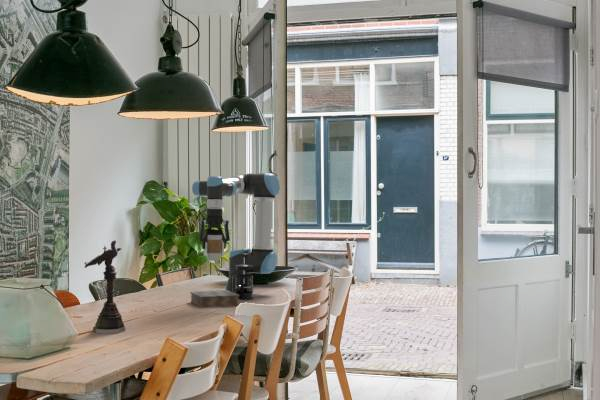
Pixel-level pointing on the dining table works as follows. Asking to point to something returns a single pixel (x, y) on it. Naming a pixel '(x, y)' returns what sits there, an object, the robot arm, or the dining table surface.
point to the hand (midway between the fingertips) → (213, 255)
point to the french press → (243, 282)
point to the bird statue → (108, 295)
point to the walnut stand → (214, 298)
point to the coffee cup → (214, 244)
